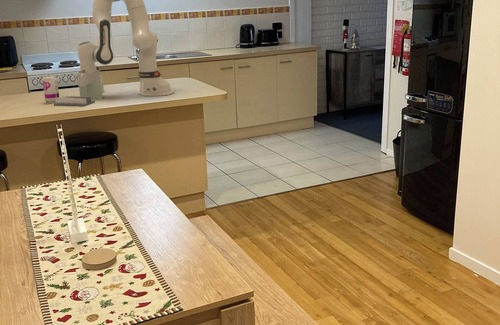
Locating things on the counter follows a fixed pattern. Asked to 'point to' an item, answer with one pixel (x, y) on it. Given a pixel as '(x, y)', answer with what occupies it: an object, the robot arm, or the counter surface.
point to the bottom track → (74, 101)
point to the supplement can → (50, 89)
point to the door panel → (92, 90)
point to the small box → (102, 84)
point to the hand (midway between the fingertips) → (90, 91)
